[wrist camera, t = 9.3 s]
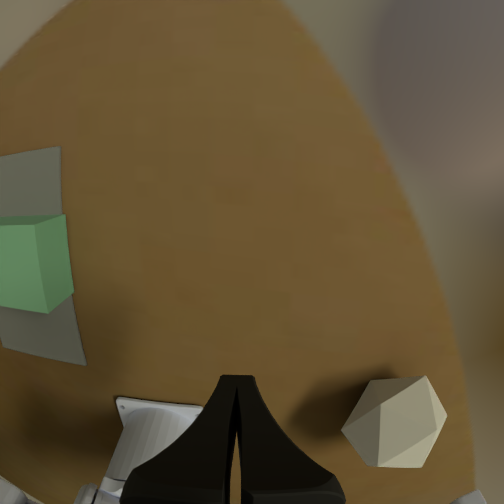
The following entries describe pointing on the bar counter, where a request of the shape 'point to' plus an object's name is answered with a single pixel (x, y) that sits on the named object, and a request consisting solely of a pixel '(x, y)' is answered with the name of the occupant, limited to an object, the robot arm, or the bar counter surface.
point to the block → (34, 262)
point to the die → (395, 422)
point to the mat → (26, 204)
